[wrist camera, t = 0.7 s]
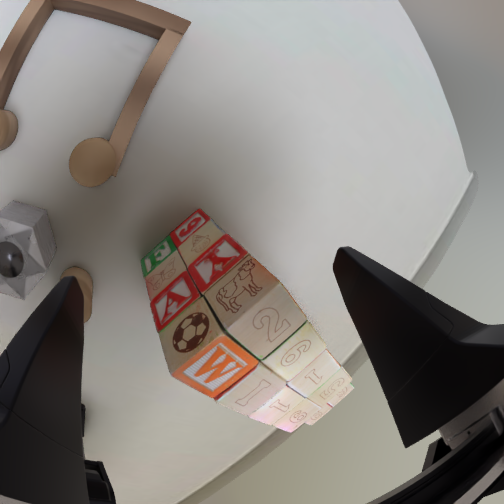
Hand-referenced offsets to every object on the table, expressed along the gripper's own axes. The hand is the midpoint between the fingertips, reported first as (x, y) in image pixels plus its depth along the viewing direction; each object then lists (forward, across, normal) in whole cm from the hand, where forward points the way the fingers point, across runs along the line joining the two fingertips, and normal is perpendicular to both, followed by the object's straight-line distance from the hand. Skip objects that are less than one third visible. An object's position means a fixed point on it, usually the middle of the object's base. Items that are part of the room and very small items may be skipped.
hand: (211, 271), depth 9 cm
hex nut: (+10, +13, +4) cm, 17 cm away
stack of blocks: (+11, -4, +15) cm, 19 cm away
